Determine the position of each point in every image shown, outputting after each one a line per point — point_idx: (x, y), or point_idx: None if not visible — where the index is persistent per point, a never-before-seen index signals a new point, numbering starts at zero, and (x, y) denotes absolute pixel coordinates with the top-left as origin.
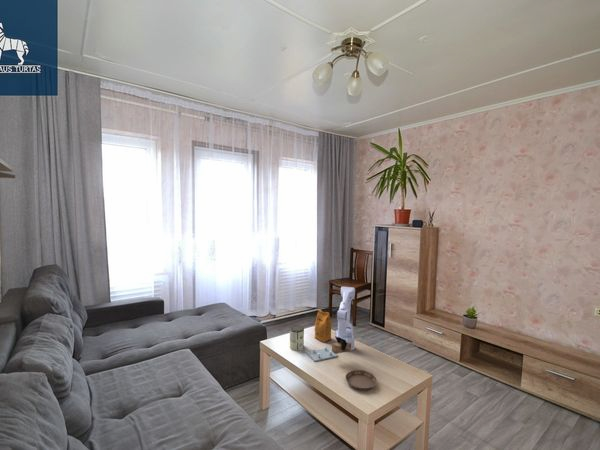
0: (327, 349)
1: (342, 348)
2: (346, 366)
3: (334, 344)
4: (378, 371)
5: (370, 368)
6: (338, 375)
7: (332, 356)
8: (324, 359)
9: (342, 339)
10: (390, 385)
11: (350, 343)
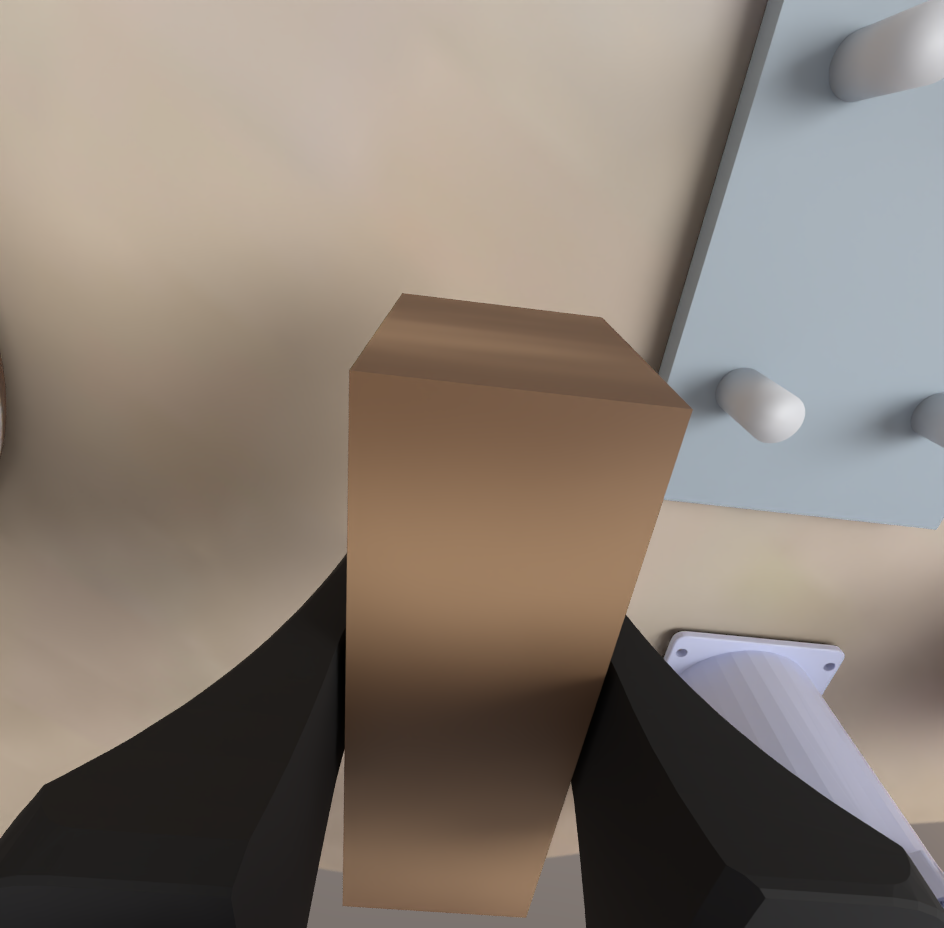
0: (920, 458)
1: (320, 588)
2: (310, 418)
3: (556, 460)
4: (64, 681)
5: (152, 652)
6: (65, 61)
7: (670, 386)
8: (717, 179)
9: (585, 898)
10: None
11: (344, 888)
